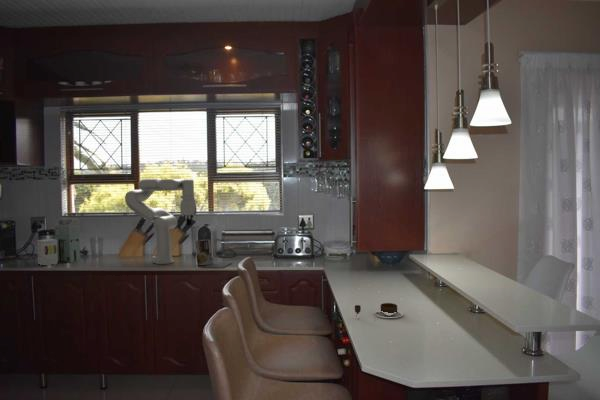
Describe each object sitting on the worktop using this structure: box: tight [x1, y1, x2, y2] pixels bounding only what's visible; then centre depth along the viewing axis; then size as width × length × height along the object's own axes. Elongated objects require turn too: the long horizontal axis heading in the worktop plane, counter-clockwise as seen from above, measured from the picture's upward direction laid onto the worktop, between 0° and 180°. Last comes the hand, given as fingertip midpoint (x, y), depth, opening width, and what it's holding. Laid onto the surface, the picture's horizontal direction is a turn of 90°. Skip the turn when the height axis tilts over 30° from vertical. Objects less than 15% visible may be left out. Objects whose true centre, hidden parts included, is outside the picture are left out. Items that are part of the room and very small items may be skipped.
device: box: [54, 217, 81, 263], centre depth 335 cm, size 16×8×30 cm, turn 60°
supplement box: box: [36, 238, 58, 266], centre depth 323 cm, size 10×9×17 cm
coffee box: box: [194, 238, 214, 266], centre depth 317 cm, size 9×6×16 cm
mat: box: [203, 261, 233, 269], centre depth 314 cm, size 12×17×1 cm
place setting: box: [354, 302, 398, 315], centre depth 202 cm, size 18×20×6 cm
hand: (189, 225), depth 319 cm, fingers closed
